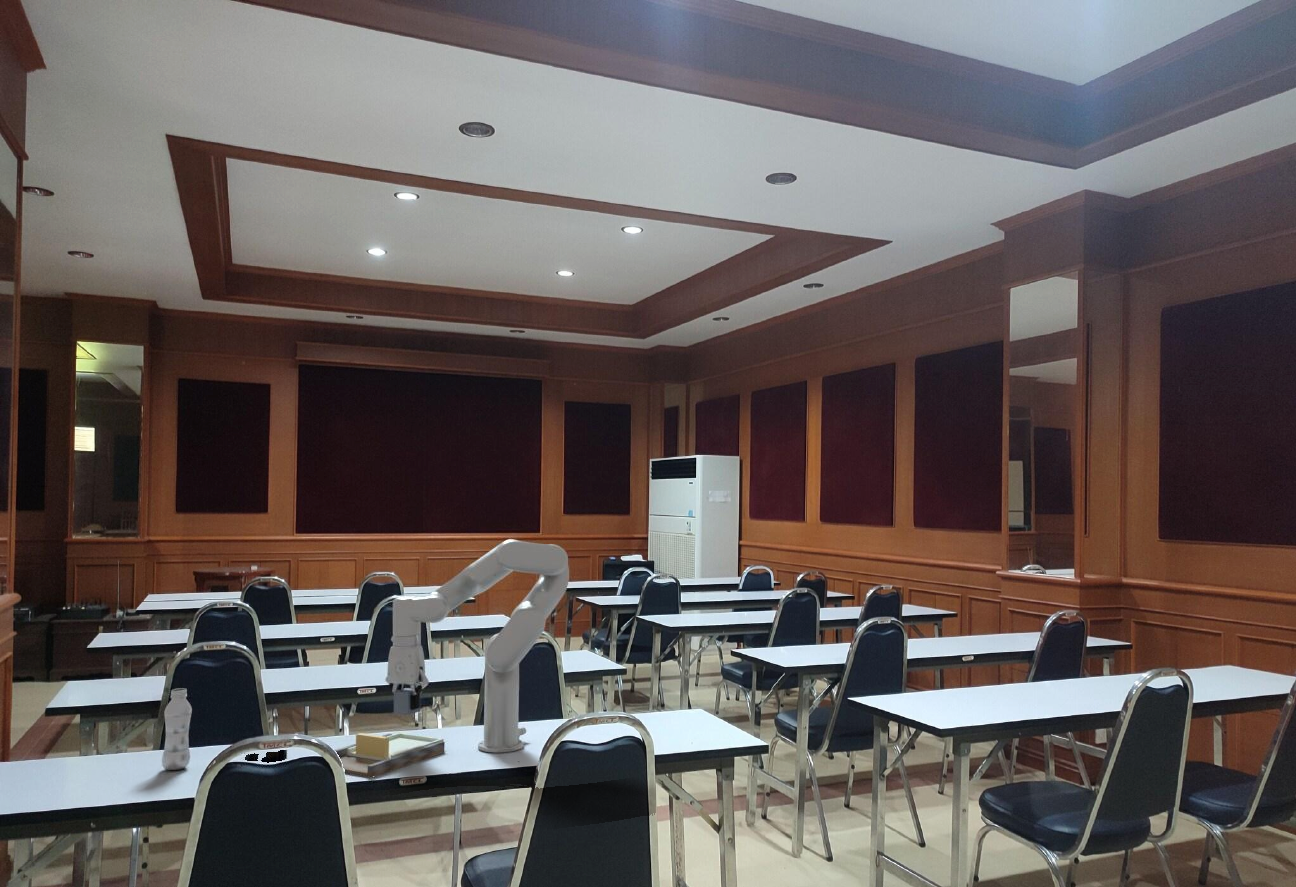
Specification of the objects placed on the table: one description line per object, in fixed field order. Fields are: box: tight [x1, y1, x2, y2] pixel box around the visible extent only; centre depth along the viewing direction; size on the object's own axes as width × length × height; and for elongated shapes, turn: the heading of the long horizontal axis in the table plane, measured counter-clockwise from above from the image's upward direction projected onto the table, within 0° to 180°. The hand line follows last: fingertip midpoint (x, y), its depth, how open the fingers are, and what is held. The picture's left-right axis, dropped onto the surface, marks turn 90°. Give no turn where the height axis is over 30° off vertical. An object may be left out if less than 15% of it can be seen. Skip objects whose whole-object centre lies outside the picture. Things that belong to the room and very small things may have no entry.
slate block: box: [393, 687, 421, 716], centre depth 252 cm, size 5×5×6 cm
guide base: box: [334, 733, 446, 779], centre depth 243 cm, size 28×20×3 cm
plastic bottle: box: [161, 687, 193, 771], centre depth 234 cm, size 6×7×20 cm
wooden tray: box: [347, 732, 445, 761], centre depth 248 cm, size 20×16×6 cm
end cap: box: [245, 749, 288, 763], centre depth 233 cm, size 10×7×7 cm
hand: (407, 707), depth 252 cm, fingers closed on slate block, 5 cm apart
